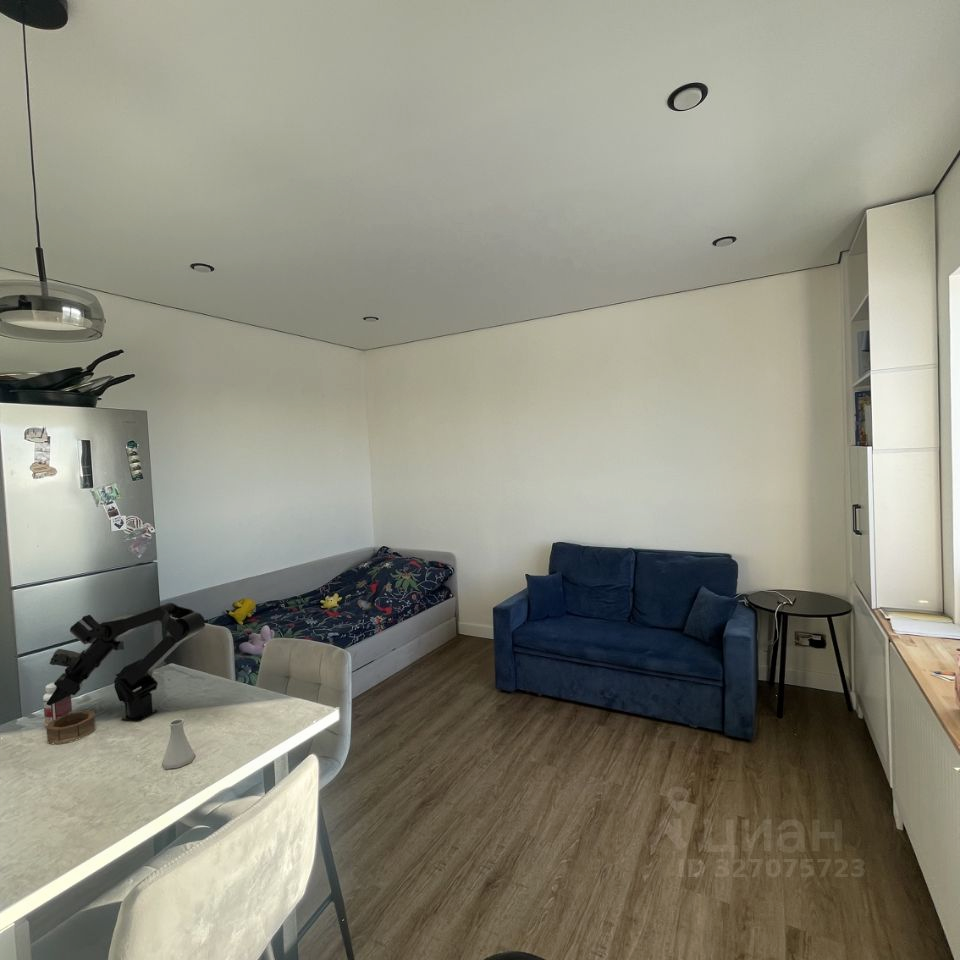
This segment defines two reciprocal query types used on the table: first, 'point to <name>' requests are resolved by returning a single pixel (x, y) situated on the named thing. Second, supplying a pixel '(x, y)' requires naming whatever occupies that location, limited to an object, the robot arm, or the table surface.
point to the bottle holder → (71, 727)
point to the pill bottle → (55, 705)
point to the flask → (177, 747)
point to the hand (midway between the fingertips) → (51, 700)
